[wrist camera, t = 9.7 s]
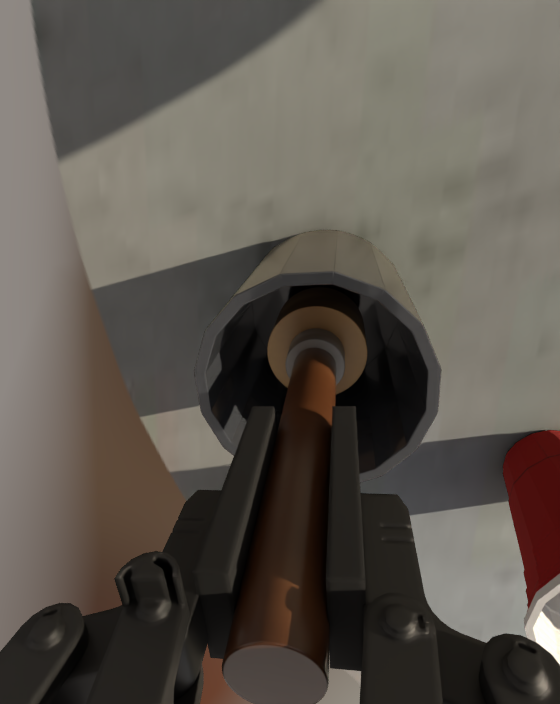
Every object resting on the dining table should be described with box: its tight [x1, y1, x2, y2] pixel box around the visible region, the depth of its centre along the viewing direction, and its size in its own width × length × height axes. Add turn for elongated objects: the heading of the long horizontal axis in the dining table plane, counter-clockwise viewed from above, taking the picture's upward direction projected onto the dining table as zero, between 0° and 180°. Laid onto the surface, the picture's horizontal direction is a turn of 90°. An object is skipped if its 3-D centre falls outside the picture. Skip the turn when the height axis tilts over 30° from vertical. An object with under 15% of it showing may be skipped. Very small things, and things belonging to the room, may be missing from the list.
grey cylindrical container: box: [194, 230, 441, 483], centre depth 23 cm, size 10×10×11 cm
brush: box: [222, 287, 367, 704], centre depth 16 cm, size 5×5×18 cm
